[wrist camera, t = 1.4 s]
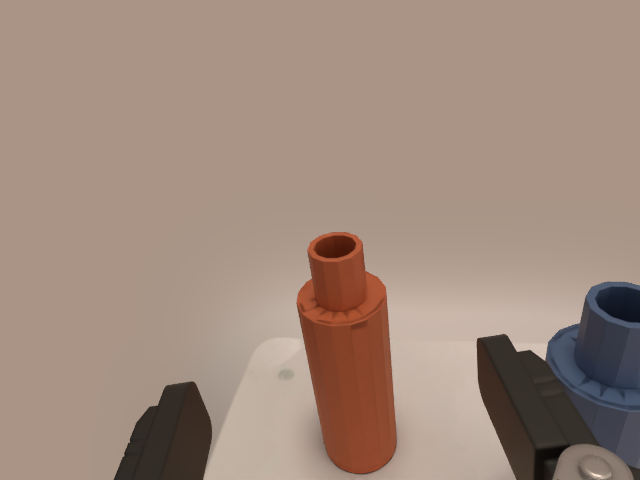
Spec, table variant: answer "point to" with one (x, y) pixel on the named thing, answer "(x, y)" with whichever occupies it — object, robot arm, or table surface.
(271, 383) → the table surface
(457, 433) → the table surface
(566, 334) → the blue bottle
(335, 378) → the terracotta bottle
